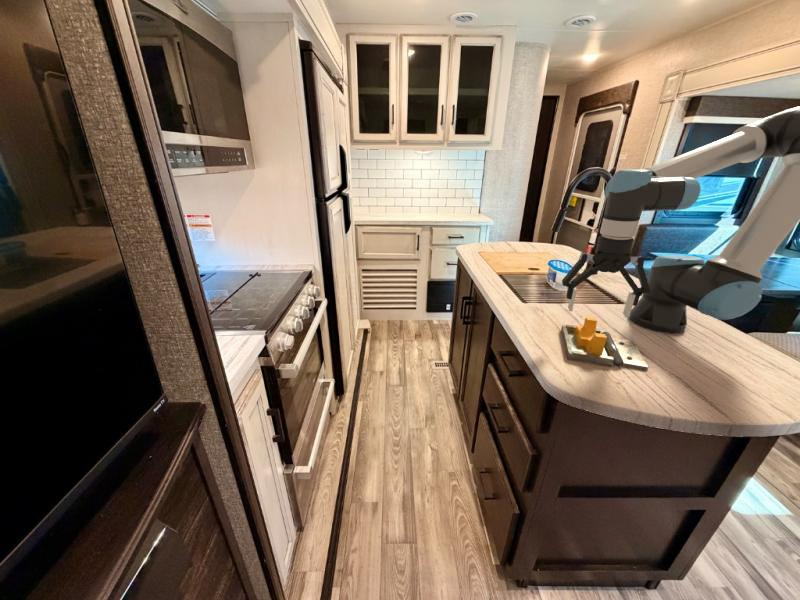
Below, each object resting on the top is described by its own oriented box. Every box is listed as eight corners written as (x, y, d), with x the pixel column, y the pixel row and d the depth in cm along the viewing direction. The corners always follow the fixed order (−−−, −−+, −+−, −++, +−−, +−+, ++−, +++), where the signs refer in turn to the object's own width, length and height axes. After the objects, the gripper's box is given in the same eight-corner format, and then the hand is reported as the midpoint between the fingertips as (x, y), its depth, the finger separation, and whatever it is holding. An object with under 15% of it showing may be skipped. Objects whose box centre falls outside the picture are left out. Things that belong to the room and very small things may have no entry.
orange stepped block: (574, 334, 99) (579, 316, 96) (590, 336, 98) (595, 318, 95) (583, 355, 88) (588, 335, 86) (600, 358, 87) (607, 337, 85)
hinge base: (630, 341, 97) (632, 334, 96) (649, 373, 82) (652, 365, 81) (561, 330, 102) (562, 324, 101) (567, 359, 88) (569, 352, 87)
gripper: (670, 235, 79) (646, 312, 88) (560, 230, 87) (547, 301, 96) (683, 242, 73) (655, 324, 82) (563, 236, 81) (549, 312, 89)
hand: (597, 312), depth 89 cm, fingers open, 13 cm apart
